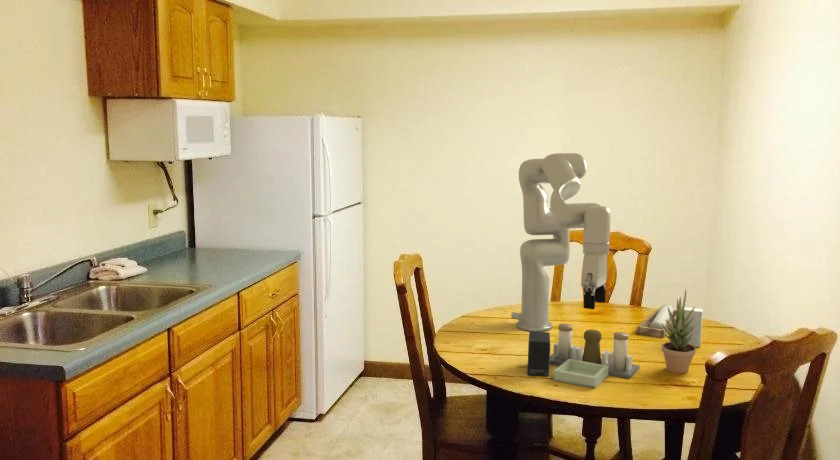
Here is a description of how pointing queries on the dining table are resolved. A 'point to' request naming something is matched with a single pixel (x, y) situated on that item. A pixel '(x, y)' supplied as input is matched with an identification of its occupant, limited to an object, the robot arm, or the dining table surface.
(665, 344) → the potted plant
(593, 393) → the dining table surface
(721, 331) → the dining table surface
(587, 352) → the olive waisted cylinder
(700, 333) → the skincare box
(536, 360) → the small box
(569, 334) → the fuse block
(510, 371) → the dining table surface
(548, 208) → the robot arm
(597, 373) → the tray
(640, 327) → the tube rest
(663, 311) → the tube
